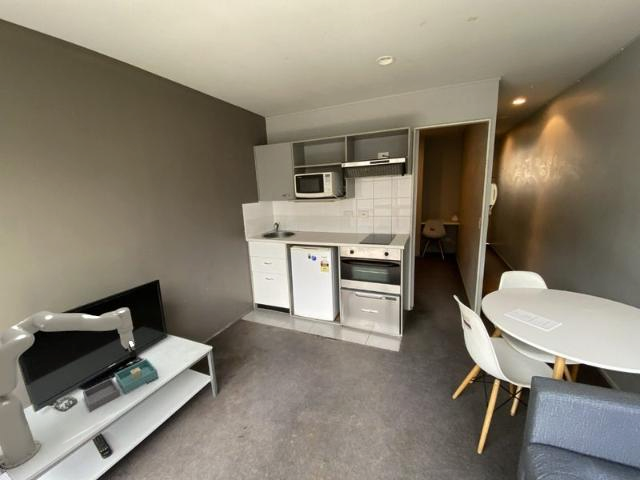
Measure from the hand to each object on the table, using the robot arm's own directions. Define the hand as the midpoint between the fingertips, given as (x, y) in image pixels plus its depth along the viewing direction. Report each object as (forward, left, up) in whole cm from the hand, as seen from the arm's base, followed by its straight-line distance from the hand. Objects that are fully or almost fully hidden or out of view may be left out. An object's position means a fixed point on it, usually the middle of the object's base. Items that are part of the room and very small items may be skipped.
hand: (130, 353), depth 167 cm
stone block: (0, 0, -19) cm, 19 cm away
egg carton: (-32, +10, -20) cm, 39 cm away
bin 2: (0, 0, -20) cm, 20 cm away
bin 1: (-18, 0, -20) cm, 26 cm away
